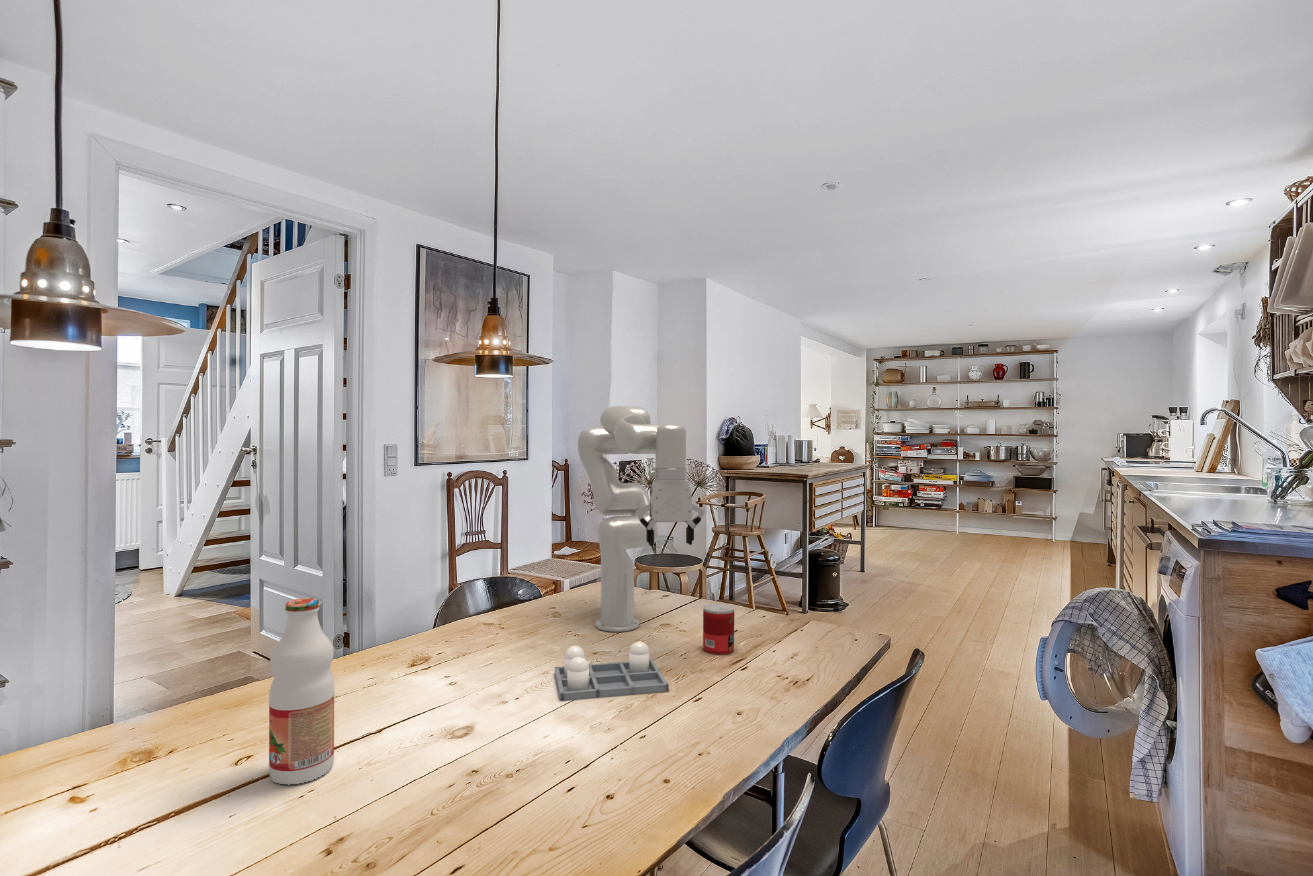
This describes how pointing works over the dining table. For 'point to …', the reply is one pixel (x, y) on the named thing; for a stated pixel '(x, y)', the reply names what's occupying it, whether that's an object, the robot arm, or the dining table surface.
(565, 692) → the egg carton
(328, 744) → the fruit juice
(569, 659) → the seated egg
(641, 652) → the loose egg
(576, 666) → the seated egg
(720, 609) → the canned food
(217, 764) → the dining table surface
